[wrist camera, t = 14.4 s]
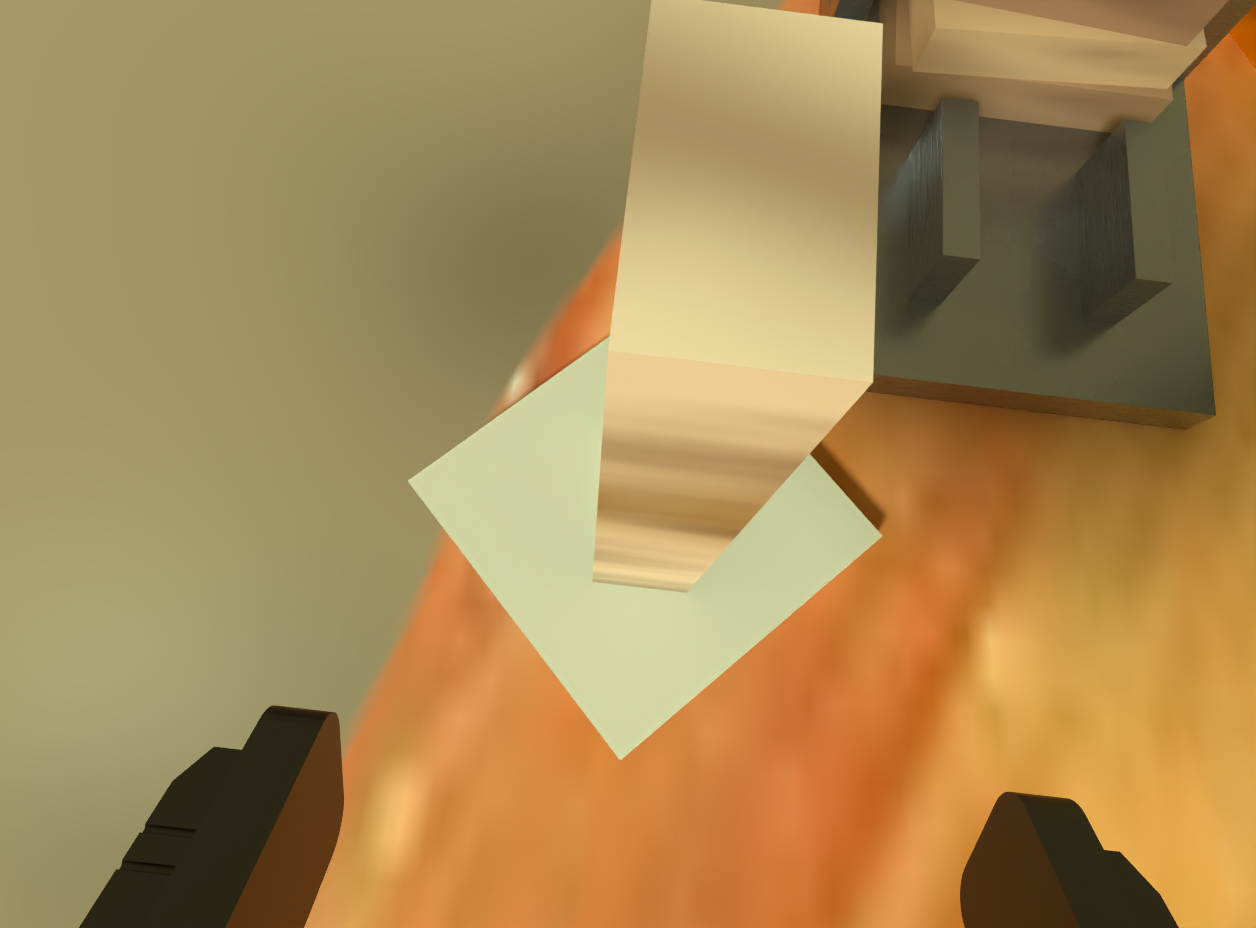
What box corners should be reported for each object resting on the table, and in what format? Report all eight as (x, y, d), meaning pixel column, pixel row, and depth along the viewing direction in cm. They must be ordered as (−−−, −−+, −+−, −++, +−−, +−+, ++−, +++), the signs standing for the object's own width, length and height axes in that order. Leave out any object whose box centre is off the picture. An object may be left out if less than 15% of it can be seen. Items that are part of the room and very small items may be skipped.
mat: (665, 307, 31) (668, 293, 30) (872, 542, 29) (882, 535, 28) (413, 488, 28) (407, 480, 27) (618, 758, 26) (620, 760, 25)
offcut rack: (823, -56, 36) (929, -398, 25) (1148, -14, 36) (1398, -334, 25) (799, 383, 30) (924, 194, 19) (1185, 429, 30) (1530, 269, 19)
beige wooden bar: (610, 432, 28) (652, -7, 11) (699, 443, 28) (883, 23, 11) (592, 581, 27) (607, 350, 9) (686, 592, 27) (873, 382, 10)
